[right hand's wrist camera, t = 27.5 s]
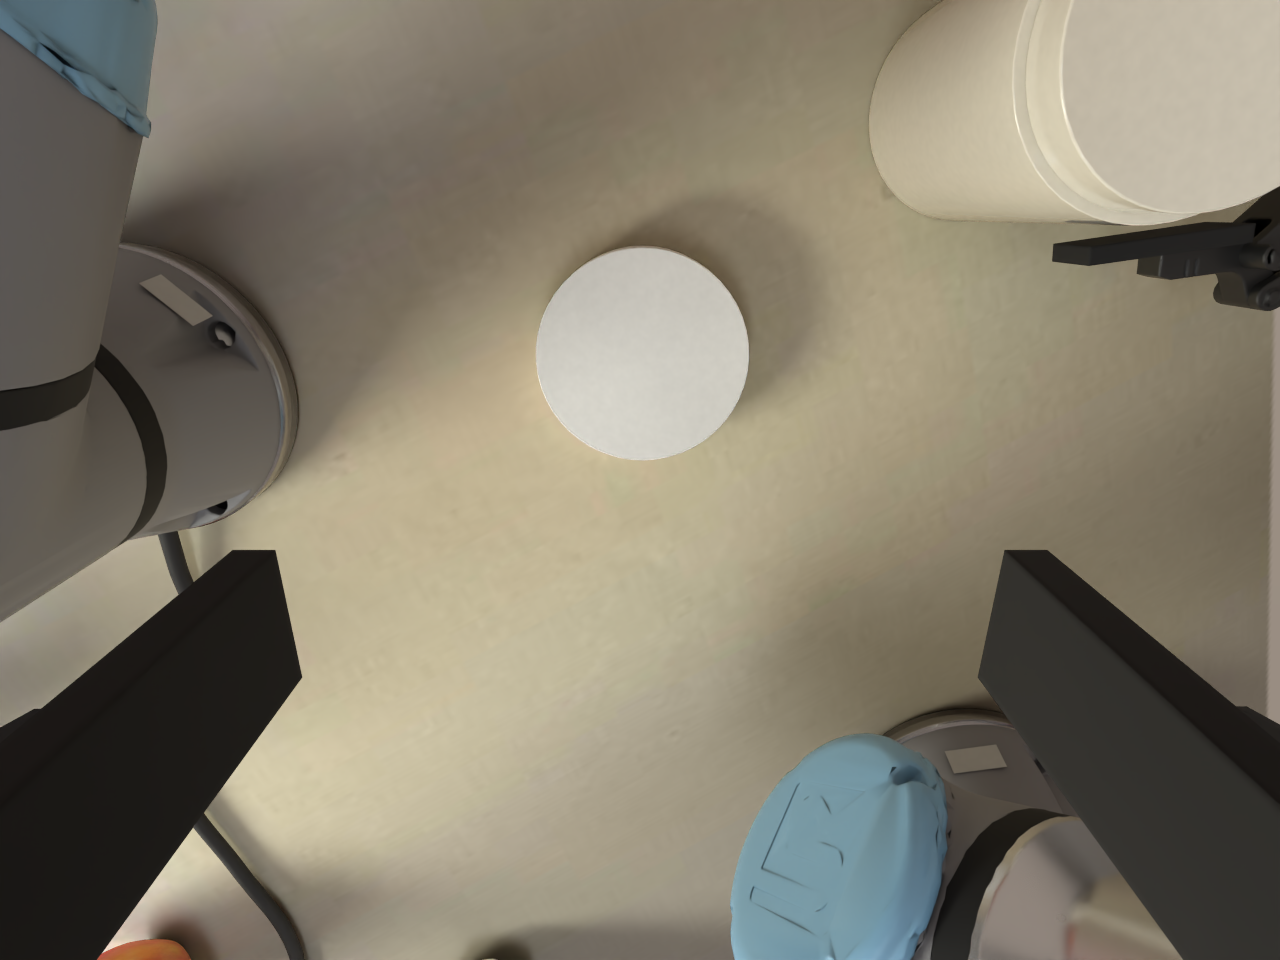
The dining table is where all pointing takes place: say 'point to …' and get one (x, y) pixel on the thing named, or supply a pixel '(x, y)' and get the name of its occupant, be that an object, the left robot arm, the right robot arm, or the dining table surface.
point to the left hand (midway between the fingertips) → (1083, 73)
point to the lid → (642, 353)
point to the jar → (1081, 110)
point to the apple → (147, 951)
